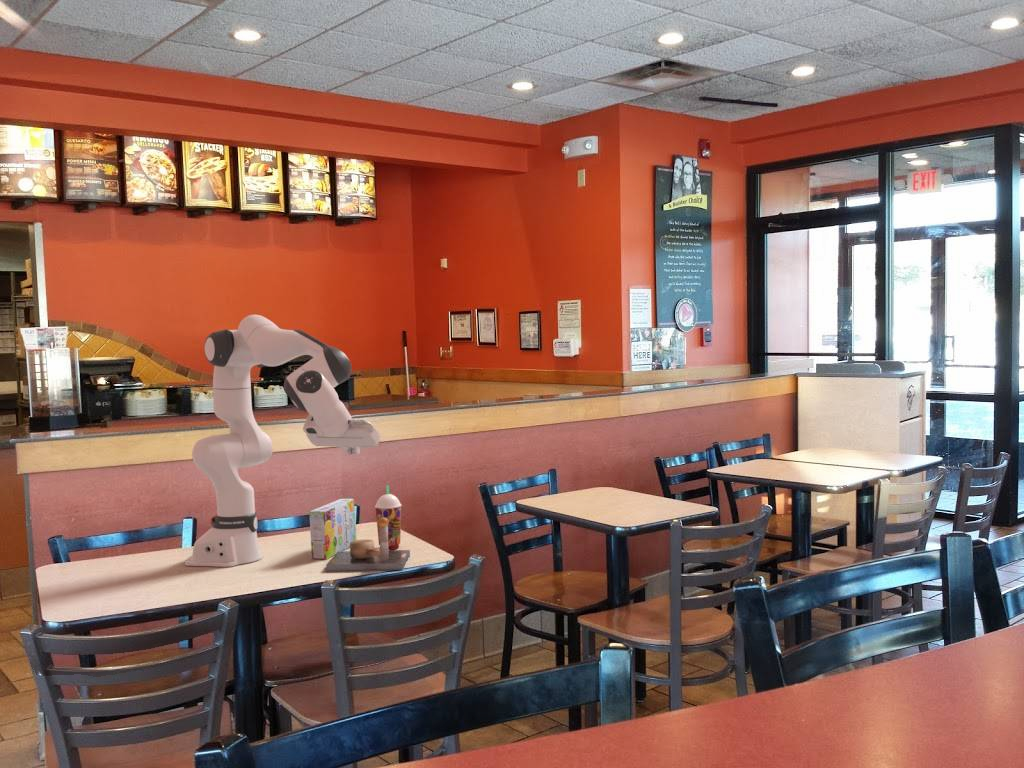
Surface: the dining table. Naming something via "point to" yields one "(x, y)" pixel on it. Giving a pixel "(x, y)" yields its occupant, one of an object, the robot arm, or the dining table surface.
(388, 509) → the smoothie
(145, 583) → the dining table surface
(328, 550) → the snack box
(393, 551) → the stand plate
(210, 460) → the robot arm
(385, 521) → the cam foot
